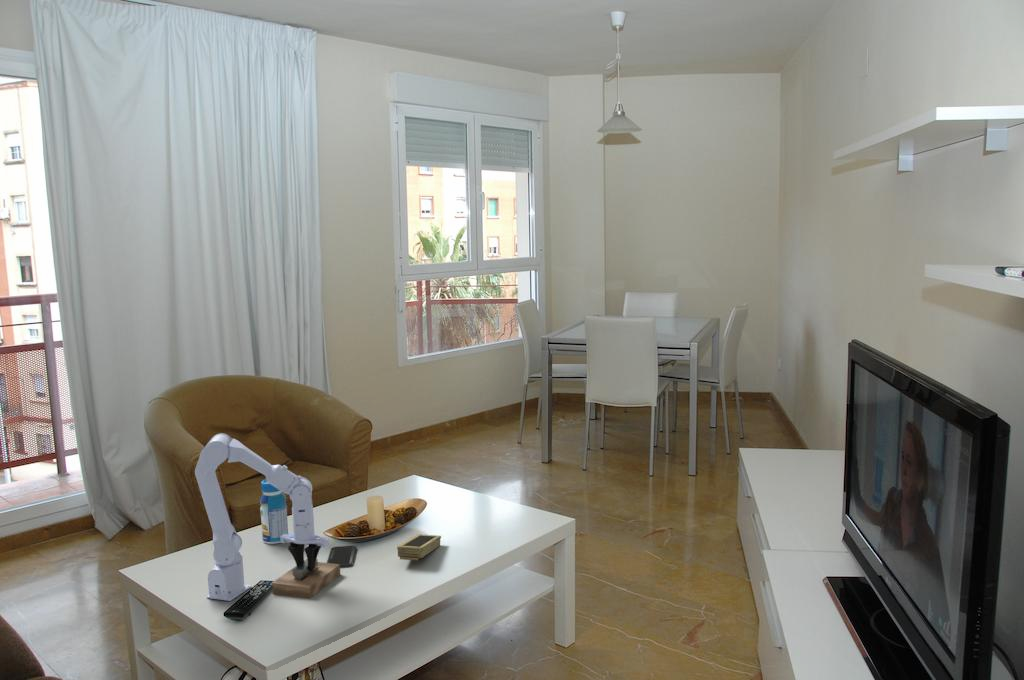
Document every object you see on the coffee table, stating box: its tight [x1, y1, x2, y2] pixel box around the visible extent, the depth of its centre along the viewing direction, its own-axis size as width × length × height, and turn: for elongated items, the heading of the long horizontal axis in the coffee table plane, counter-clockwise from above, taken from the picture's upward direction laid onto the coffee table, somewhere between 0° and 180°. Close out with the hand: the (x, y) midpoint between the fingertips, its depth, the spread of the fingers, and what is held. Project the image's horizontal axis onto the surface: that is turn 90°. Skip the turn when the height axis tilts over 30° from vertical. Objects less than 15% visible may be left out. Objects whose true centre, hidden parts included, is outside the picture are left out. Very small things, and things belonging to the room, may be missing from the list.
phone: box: [326, 545, 357, 569], centre depth 242 cm, size 8×1×15 cm
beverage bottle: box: [259, 478, 289, 545], centre depth 257 cm, size 8×8×20 cm
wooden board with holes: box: [271, 559, 341, 599], centre depth 224 cm, size 16×12×3 cm
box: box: [396, 533, 442, 561], centre depth 243 cm, size 8×22×5 cm, turn 169°
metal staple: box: [292, 558, 319, 580], centre depth 223 cm, size 8×3×6 cm, turn 162°
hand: (306, 568), depth 224 cm, fingers closed on metal staple, 3 cm apart
